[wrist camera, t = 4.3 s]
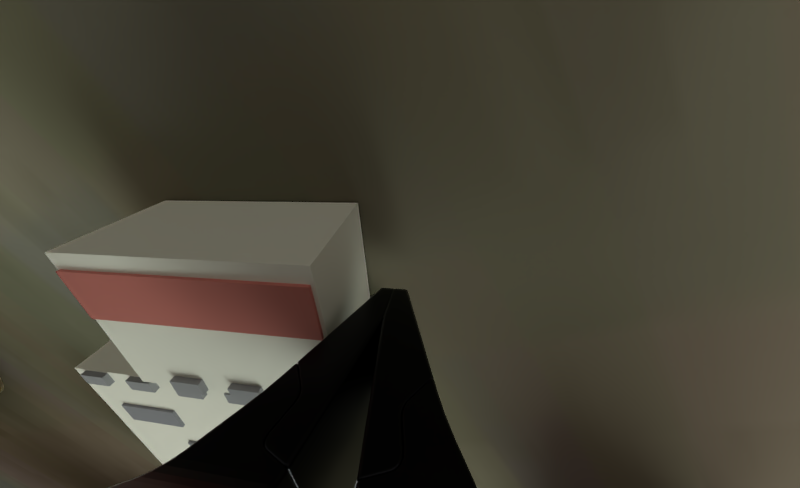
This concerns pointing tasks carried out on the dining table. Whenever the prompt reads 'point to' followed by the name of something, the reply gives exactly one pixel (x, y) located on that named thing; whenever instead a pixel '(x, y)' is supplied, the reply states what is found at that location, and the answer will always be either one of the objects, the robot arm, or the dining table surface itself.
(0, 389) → the teapot
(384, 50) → the dining table surface
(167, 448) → the cream slotted dispenser box
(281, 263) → the white rectangular block
